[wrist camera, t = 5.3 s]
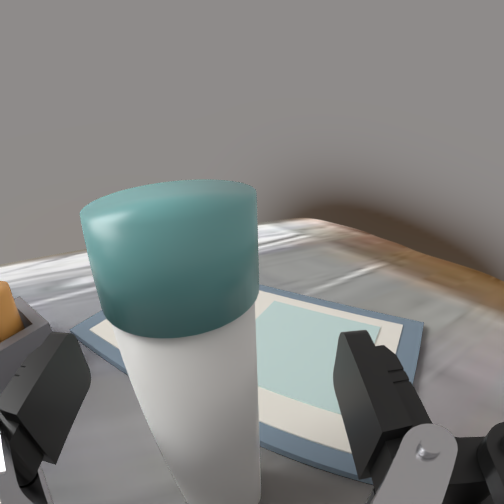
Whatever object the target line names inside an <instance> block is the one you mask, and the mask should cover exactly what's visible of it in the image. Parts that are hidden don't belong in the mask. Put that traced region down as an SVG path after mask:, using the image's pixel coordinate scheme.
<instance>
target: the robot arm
mask: <svg viewBox="0 0 504 504" xmlns="http://www.w3.org/2000/svg"><path fill="white" fill-rule="evenodd" d="M90 382H91V375H90V370H89V367H88V365H87V363H86V360H85V358H84V356H83V353H82V351H81V348H80V346H79V343H78V340H77V338H76V336H75V335H74V334H72V333H60V332H51V333H50V334H49V335H48V336H47V338H46V339H45V340H44V342H43V343H42V344H41V346H39V347H38V348H36V349H35V350H34V351H32V352H31V353H30V354H29V355H28V356H27V357H26V359H25V360H24V361H23V363H22V364H21V368H19V369H18V370H17V371H16V373H15V377H14V376H13V377H12V379H11V380H10V382H9V383H8V385H7V386H6V388H5V389H4V391H3V392H2V394H1V395H0V504H54V503H53V500H52V497H51V494H50V492H49V489H48V485H47V482H46V479H45V476H44V473H43V470H42V469H41V467H40V464H41V462H42V461H45V462H49V463H52V464H55V465H56V463H57V460H58V458H59V455H60V453H61V450H62V448H63V445H64V443H65V441H66V438H67V436H68V434H69V431H70V429H71V427H72V424H73V422H74V420H75V418H76V415H77V413H78V411H79V409H80V407H81V404H82V402H83V400H84V398H85V396H86V394H87V392H88V389H89V387H90ZM333 385H334V390H335V394H336V397H337V401H338V405H339V408H340V412H341V415H342V419H343V422H344V426H345V430H346V433H347V437H348V441H349V444H350V448H351V452H352V456H353V460H354V463H355V467H356V471H357V475H358V479H359V480H361V479H366V478H372V482H373V485H374V488H373V490H372V491H371V493H370V495H369V497H368V499H367V501H366V502H365V504H504V422H502V423H499V424H497V425H495V426H494V427H493V428H492V429H491V430H490V431H489V433H488V434H487V435H486V437H465V438H459V437H454V436H453V435H452V433H451V432H450V431H448V430H447V429H446V428H444V427H442V426H439V425H436V424H433V423H432V422H431V420H430V418H429V416H428V414H427V412H426V410H425V408H424V406H423V404H422V402H421V400H420V398H419V396H418V394H417V393H416V391H415V389H414V387H413V385H412V383H411V382H409V377H408V375H407V374H406V372H405V371H404V368H403V366H402V364H401V362H400V361H399V359H398V357H397V355H396V354H394V353H393V352H392V351H391V350H390V349H388V348H387V347H386V346H385V345H380V346H375V344H374V342H373V340H372V338H371V336H370V334H369V333H368V331H367V330H358V331H348V332H341V333H340V335H339V339H338V345H337V352H336V358H335V364H334V370H333Z"/></svg>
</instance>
